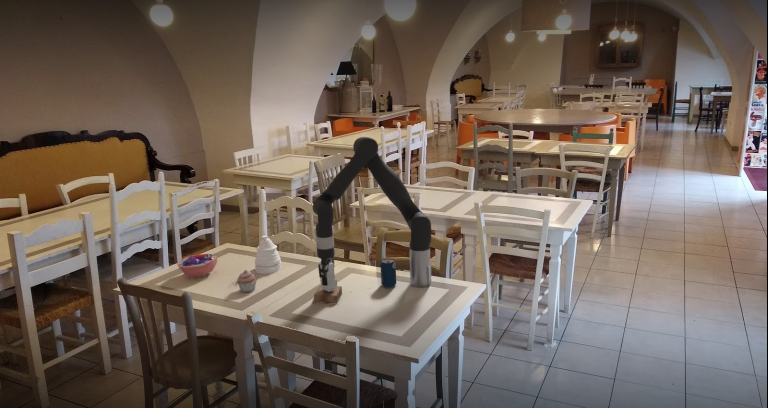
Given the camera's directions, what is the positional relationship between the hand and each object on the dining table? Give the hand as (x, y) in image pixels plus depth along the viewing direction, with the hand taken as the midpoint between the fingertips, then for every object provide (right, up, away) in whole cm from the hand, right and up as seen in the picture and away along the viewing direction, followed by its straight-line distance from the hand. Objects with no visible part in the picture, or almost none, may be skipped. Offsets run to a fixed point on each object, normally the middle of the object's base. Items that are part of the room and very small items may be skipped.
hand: (327, 281), depth 242 cm
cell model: (-67, -2, +35) cm, 75 cm away
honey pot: (-34, +1, +40) cm, 52 cm away
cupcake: (-38, -6, +14) cm, 41 cm away
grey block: (0, -5, +12) cm, 13 cm away
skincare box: (0, -3, +1) cm, 3 cm away
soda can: (+27, -4, +14) cm, 30 cm away
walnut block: (0, -8, +2) cm, 8 cm away
